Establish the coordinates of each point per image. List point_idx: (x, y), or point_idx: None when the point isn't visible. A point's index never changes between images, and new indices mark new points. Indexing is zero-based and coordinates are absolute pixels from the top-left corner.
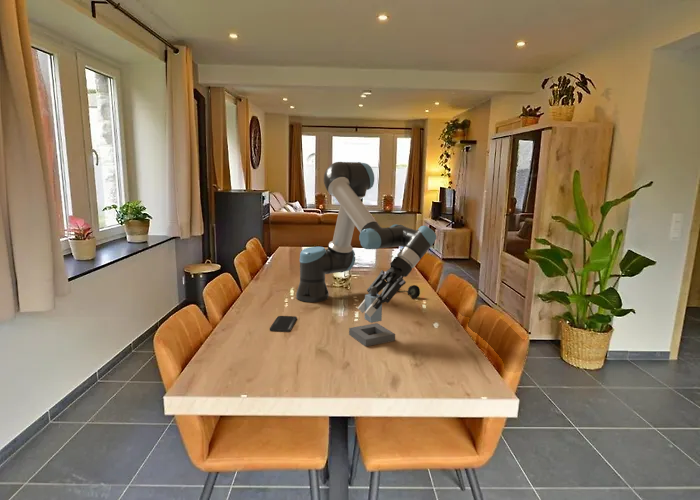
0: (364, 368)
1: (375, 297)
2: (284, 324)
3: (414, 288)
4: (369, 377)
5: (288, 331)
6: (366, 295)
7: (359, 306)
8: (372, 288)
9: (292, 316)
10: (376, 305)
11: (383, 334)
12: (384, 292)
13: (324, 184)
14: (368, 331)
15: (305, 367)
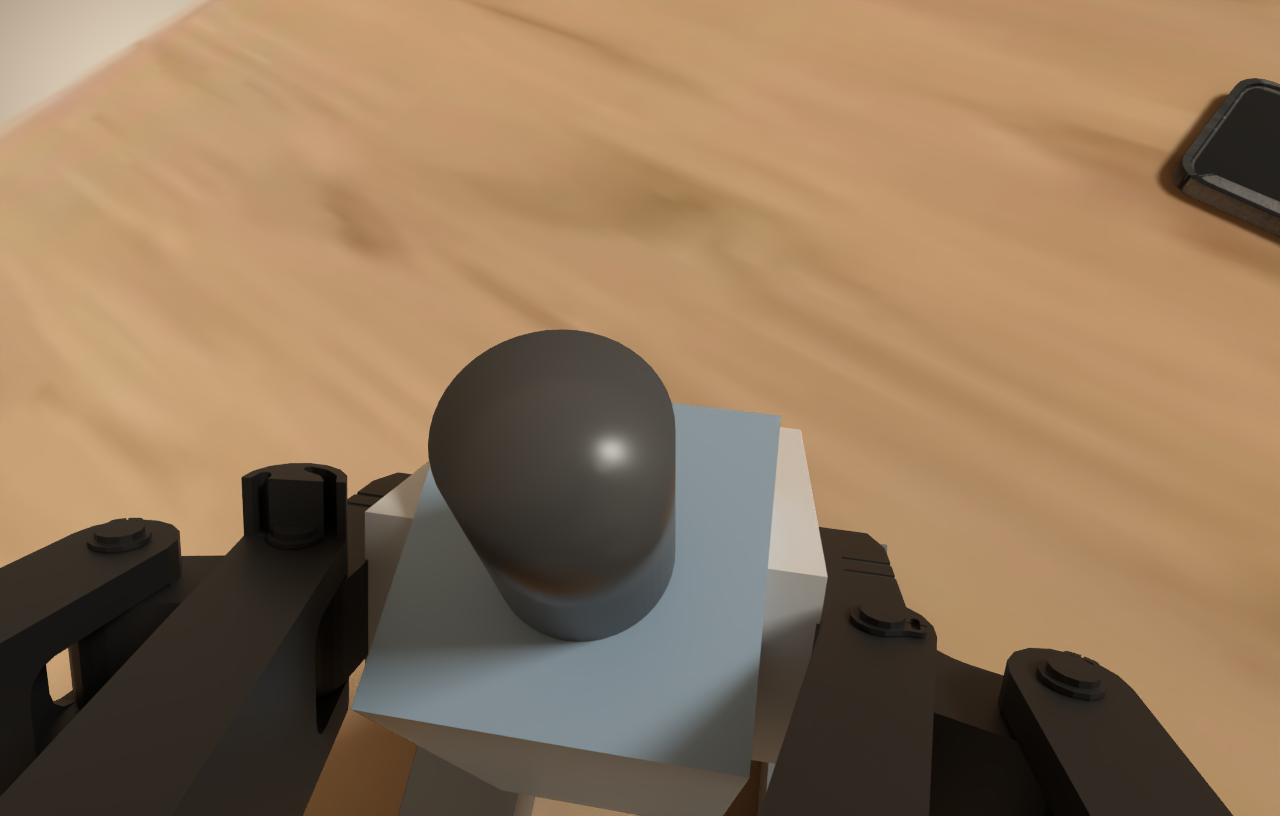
0: (224, 286)
1: (425, 486)
2: None
3: None
4: (118, 244)
5: (1174, 177)
6: (705, 409)
7: (783, 440)
8: (511, 351)
9: None
10: (360, 490)
11: (459, 778)
12: (151, 652)
13: None
14: (763, 774)
15: (513, 52)
